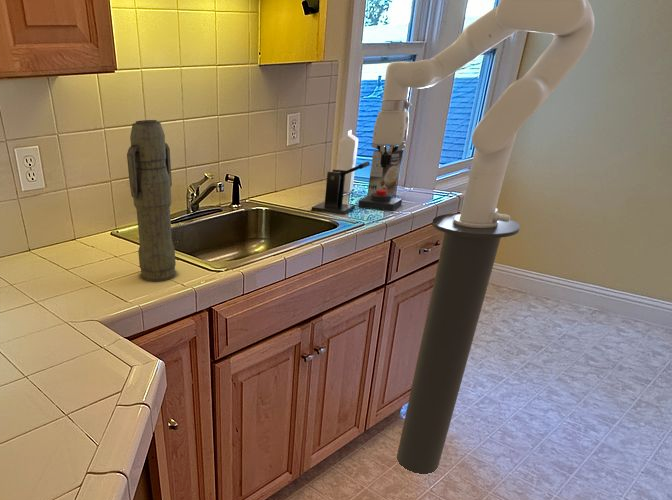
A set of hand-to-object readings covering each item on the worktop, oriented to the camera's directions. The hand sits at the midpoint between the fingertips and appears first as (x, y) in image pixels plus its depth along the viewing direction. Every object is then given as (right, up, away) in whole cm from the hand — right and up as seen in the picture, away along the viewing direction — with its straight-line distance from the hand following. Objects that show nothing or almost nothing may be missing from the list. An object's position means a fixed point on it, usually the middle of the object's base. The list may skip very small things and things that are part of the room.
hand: (385, 166), depth 169 cm
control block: (+1, -11, +7) cm, 13 cm away
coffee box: (+6, -3, +20) cm, 21 cm away
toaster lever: (-13, -4, -4) cm, 14 cm away
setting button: (0, -8, +5) cm, 9 cm away
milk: (-5, +2, +30) cm, 31 cm away
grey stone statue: (-74, -44, -44) cm, 96 cm away
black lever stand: (-16, -13, +5) cm, 21 cm away
